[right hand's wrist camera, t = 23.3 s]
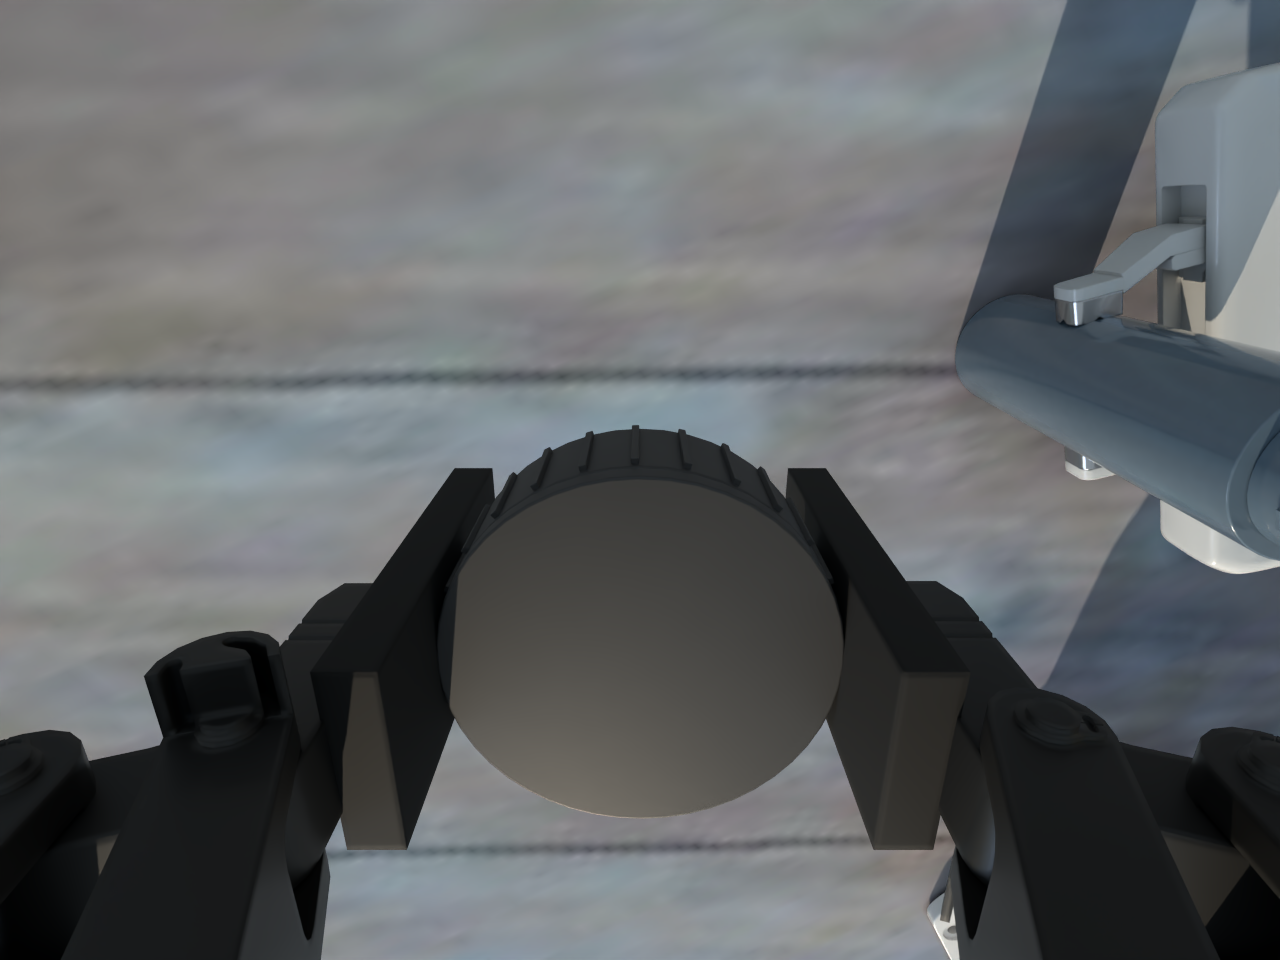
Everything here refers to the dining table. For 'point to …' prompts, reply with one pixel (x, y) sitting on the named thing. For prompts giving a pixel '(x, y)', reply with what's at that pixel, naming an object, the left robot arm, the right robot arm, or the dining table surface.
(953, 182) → the dining table surface
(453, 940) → the dining table surface
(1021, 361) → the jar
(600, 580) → the lid
